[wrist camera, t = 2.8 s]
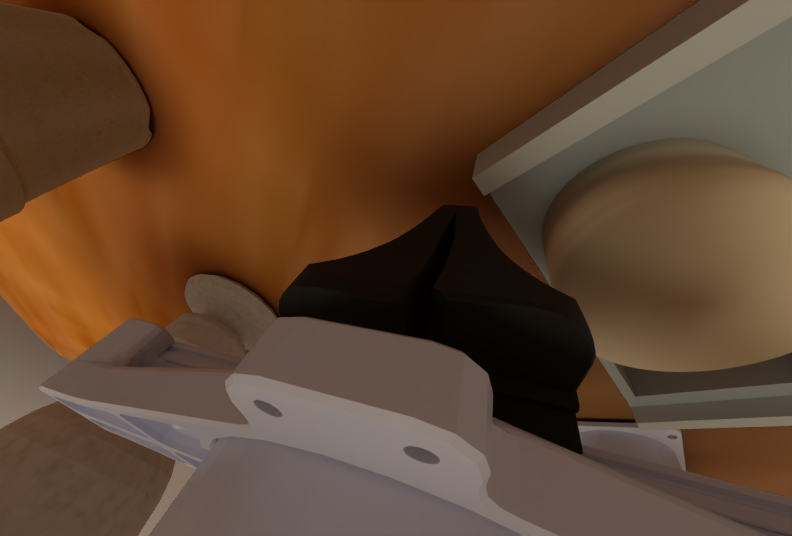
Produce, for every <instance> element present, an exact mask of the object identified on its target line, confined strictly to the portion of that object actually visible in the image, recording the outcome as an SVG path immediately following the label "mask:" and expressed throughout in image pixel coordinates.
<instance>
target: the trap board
mask: <svg viewBox="0 0 792 536" xmlns="http://www.w3.org/2000/svg"><path fill="white" fill-rule="evenodd" d="M674 138H685V139H698V140H703V141H708V142H712V143H715V144H718V145H720V146H723V147H725V148H728V149H730V150H732V151H734V152H736V153H738V154H741V155H743V156H745V157H747V158H749V159H751V160H753V161H756V162H758V163H760V164H762V165H764V166H766V167H768V168H771V169H773V170H775V171H777V172H779V173H781V174H784V175H786V176H788V177H790V178H792V0H699V1H698V2H697V3H695V4H694V5H692V6H691V7H689V8H688V9H686V10H685V11H684V12H682V13H681V14H679V15H678V16H676V17H675V18H673V19H672V20H671V21H669V22H668V23H666V24H665V25H663V26H662V27H660V28H659V29H658V30H656V31H655V32H653V33H652V34H650V35H649V36H647V37H646V38H645V39H643V40H642V41H640V42H639V43H637V44H636V45H634V46H633V47H632V48H630V49H629V50H627V51H626V52H624V53H623V54H621V55H620V56H619V57H617V58H616V59H614V60H613V61H611V62H610V63H608V64H607V65H606V66H604V67H603V68H601V69H600V70H598V71H597V72H595V73H594V74H593V75H591V76H590V77H588V78H587V79H585V80H584V81H582V82H581V83H580V84H578V85H577V86H575V87H574V88H572V89H571V90H569V91H568V92H567V93H565V94H564V95H562V96H561V97H559V98H558V99H556V100H555V101H554V102H552V103H551V104H549V105H548V106H546V107H545V108H543V109H542V110H541V111H539V112H538V113H536V114H535V115H533V116H532V117H530V118H529V119H528V120H526V121H525V122H523V123H522V124H520V125H519V126H517V127H516V128H515V129H513V130H512V131H510V132H509V133H507V134H506V135H504V136H503V137H501V138H500V139H499V140H497V141H496V142H494V143H493V144H491V145H490V146H488V147H487V148H486V149H484V150H483V151H481V152H480V153H478V154H477V158H476V162H475V167H474V172H473V176H472V179H473V181H474V182H475V184H476V185H477V187H478V188H479V190H480V191H481V193H482V194H483V196H485V195H487V194H490V195H491V197H492V198H493V200H494V201H495V203H496V204H497V206H498V207H499V209H500V210H501V212H502V213H503V215H504V216H505V218H506V219H507V221H508V222H509V224H510V225H511V227H512V228H513V230H514V231H515V233H516V235H517V236H518V238H519V239H520V241H521V242H522V244H523V245H524V247H525V248H526V250H527V251H528V253H529V254H530V256H531V257H532V259H533V260H534V262H535V263H536V265H537V266H538V268H539V269H540V271H541V272H542V274H543V275H544V277H545V278H546V280H547V281H548V283H549V284H550V286H551V283H550V278H549V273H548V268H547V263H546V258H545V253H544V248H543V243H542V227H543V222H544V218H545V216H546V213H547V211H548V209H549V207H550V205H551V203H552V201H553V200H554V199H555V197H556V196H557V194H558V193H559V192H560V191H561V190H562V189H563V187H564V186H565V185H566V184H567V183H568V182H569V181H570V180H571V179H573V178H574V177H575V176H576V175H577V174H578V173H580V172H581V171H583V170H584V169H585V168H587V167H588V166H590V165H591V164H593V163H595V162H596V161H598V160H600V159H601V158H603V157H605V156H608V155H610V154H612V153H614V152H616V151H619V150H622V149H624V148H627V147H630V146H633V145H637V144H641V143H644V142H649V141H655V140H661V139H674ZM598 359H599V360H600V362H601V363H602V365H603V366H604V368H605V369H606V371H607V372H608V374H609V375H610V377H611V378H612V380H613V381H614V383H615V384H616V386H617V387H618V389H619V390H620V392H621V393H622V395H623V396H624V398H625V399H626V401H627V402H628V404H629V406H630V407H631V410H632V412H633V415H634V418H635V421H636V423H637V425H638V426H639V428H640V429H641V430H671V429H702V428H733V427H764V426H792V352H791V353H788V354H786V355H783V356H780V357H777V358H773V359H769V360H766V361H762V362H758V363H754V364H749V365H744V366H740V367H734V368H727V369H720V370H711V371H699V372H664V371H653V370H645V369H638V368H633V367H628V366H623V365H620V364H617V363H613V362H610V361H607V360H605V359H602V358H600V357H598Z"/></svg>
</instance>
